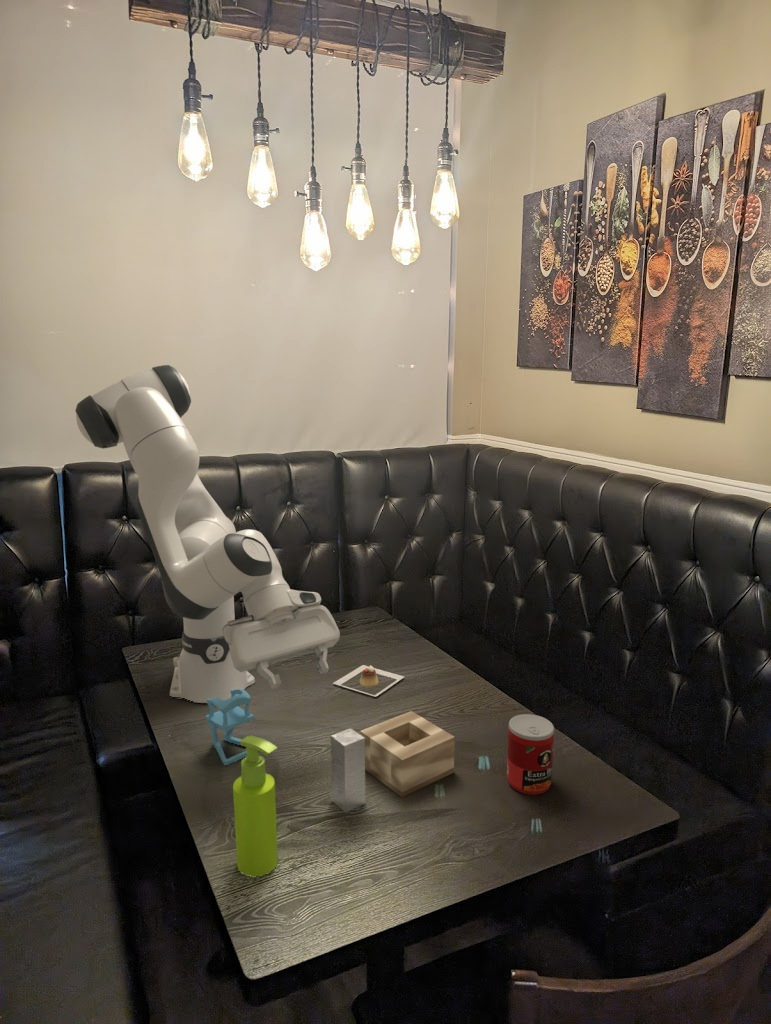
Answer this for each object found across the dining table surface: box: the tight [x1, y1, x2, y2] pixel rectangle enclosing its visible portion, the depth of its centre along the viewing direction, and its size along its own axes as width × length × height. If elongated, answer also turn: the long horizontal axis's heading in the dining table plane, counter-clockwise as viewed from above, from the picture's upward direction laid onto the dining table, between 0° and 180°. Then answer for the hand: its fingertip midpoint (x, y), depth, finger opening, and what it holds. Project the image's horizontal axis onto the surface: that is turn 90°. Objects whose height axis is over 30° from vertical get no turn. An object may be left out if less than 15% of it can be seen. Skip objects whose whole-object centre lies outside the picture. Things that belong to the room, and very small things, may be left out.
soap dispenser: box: [232, 734, 279, 876], centre depth 101 cm, size 6×7×20 cm
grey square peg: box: [330, 727, 366, 813], centre depth 116 cm, size 4×4×12 cm
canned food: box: [506, 713, 555, 796], centre depth 121 cm, size 8×8×11 cm
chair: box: [205, 689, 255, 766], centre depth 132 cm, size 8×8×12 cm
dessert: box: [332, 664, 405, 698], centre depth 161 cm, size 12×12×5 cm
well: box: [359, 710, 456, 798], centre depth 126 cm, size 12×12×7 cm
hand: (301, 679), depth 122 cm, fingers open, 8 cm apart
